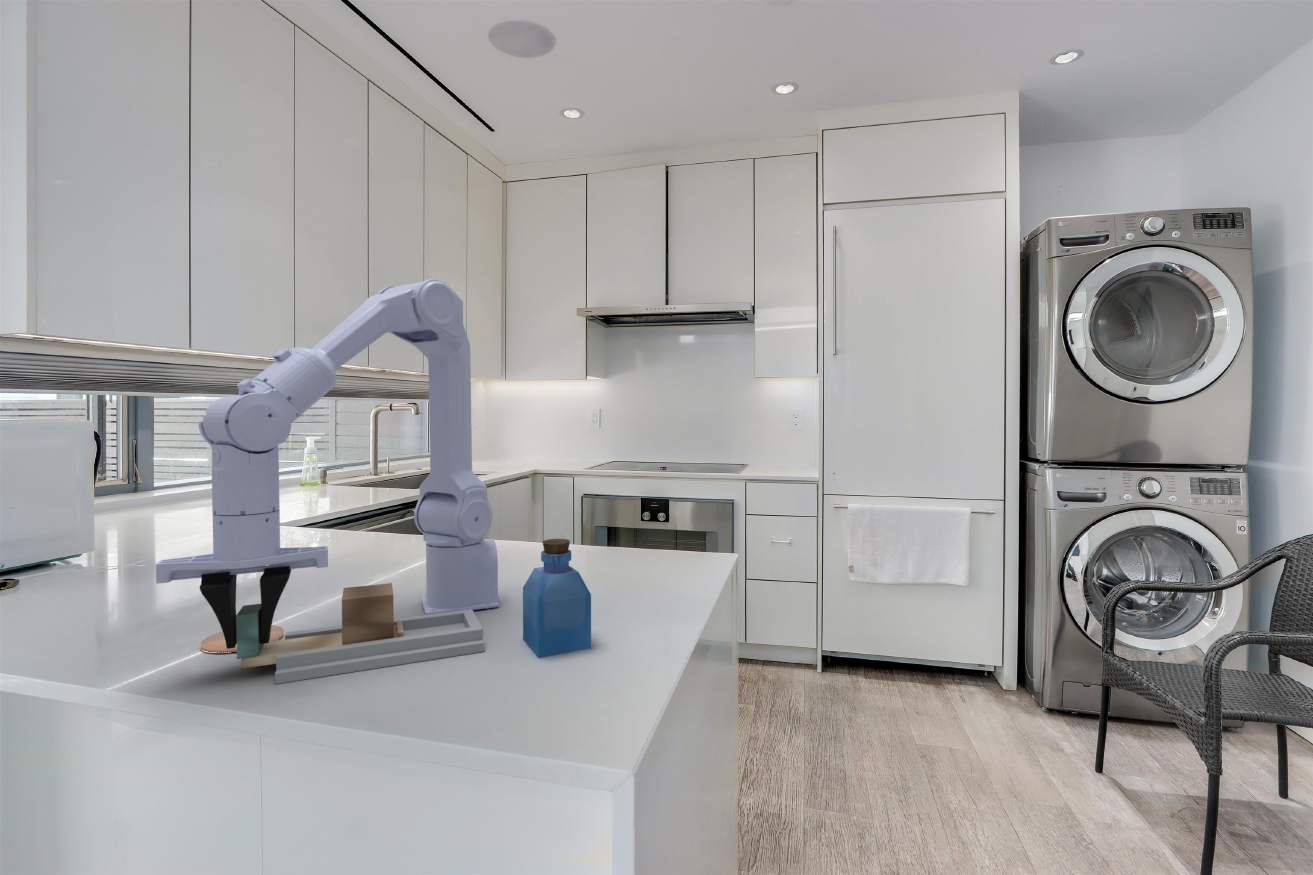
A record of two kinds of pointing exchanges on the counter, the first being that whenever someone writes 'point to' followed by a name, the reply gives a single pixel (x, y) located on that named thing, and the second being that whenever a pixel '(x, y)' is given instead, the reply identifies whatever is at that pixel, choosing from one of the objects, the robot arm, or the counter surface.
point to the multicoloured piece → (267, 653)
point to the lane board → (385, 647)
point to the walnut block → (367, 613)
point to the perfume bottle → (556, 604)
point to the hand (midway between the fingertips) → (249, 642)
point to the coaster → (219, 644)
